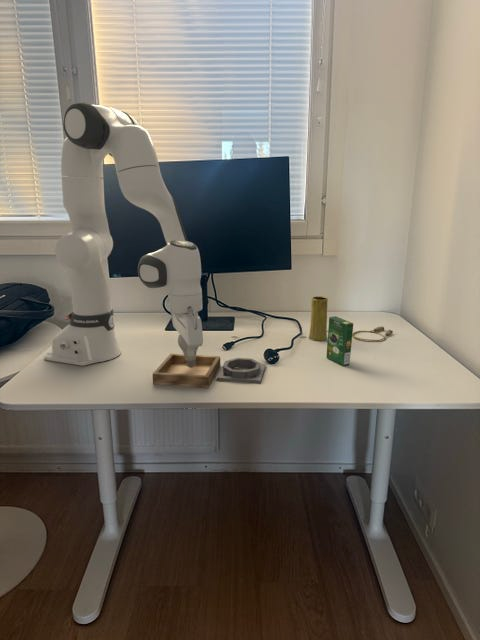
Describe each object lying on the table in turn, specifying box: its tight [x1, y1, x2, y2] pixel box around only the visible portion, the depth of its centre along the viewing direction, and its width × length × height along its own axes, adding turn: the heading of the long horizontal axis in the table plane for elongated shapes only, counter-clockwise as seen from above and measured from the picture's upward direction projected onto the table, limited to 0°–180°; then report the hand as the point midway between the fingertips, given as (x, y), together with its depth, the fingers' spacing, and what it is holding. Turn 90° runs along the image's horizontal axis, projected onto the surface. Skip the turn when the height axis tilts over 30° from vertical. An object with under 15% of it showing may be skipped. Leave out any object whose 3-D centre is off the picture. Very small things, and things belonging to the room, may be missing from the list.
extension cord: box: [352, 326, 394, 343], centre depth 154 cm, size 12×16×2 cm
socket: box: [215, 357, 267, 384], centre depth 123 cm, size 12×12×2 cm
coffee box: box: [326, 316, 354, 367], centre depth 129 cm, size 8×3×13 cm, turn 28°
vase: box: [308, 295, 329, 342], centre depth 150 cm, size 6×6×14 cm
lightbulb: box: [177, 334, 200, 368], centre depth 120 cm, size 6×6×11 cm
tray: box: [152, 353, 221, 389], centre depth 122 cm, size 15×15×3 cm
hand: (187, 351), depth 120 cm, fingers closed on lightbulb, 5 cm apart
